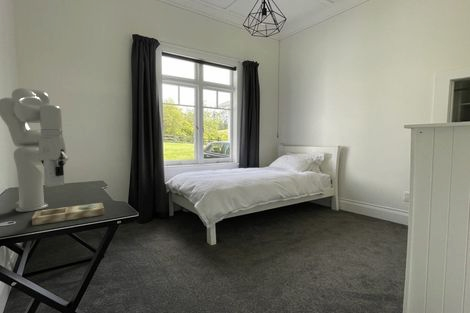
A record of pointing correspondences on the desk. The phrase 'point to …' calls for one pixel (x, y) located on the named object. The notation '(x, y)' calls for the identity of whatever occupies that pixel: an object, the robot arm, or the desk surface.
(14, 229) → the desk surface
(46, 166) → the skincare box
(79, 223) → the desk surface
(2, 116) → the robot arm
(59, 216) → the puzzle board
